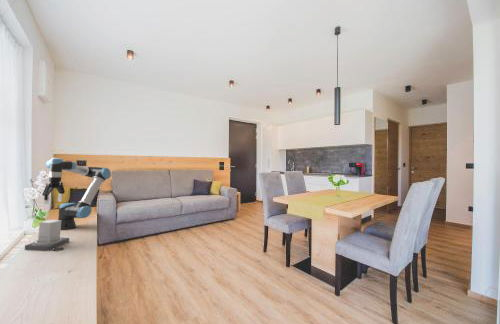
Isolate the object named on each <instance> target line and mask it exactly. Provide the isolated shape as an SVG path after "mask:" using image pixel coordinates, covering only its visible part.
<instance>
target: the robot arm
mask: <svg viewBox="0 0 500 324" xmlns="http://www.w3.org/2000/svg"><path fill="white" fill-rule="evenodd" d="M76 163H77V162H75V161H74V160H73V161H71V160H64V159H63V158H57V157H52V158H50V160H47V161H46V164H45V166H46V168H48V169H49V178H48V181H49V183H48V182H47V183H46V186H45V188H44V189H43V192H42V194H41V196H43V200H44V201H43V204H44V205H49V204H50V203H49V201H50V194H51V193H52V191H53V190H54V189H56V191H57V192H58V194H57V195H58V196H57V202H62V201H63V196H64V195H63V194H65V193H66V191H65V187H64V182H62V176H63V171H64V172H69V173H74V174H77V175H78V174H79V175H81V176H84V177H88V178H92V180H91V182H90V184H89V186H88V187H87V189H86V190H85V192H84V194H83V196H82V198H81V199H80V200H79V201H77V202H68V203H67V202H66V203H62V204H60V205H59V209H58V217H57V218H58V219H57V220H61V231H65V230H66V231H67V230H72V229H75V228H76V226H77V224H76V221H75V219H86V218H88V217H89V216H90V215H91V214H92V201H93V199H94V198H95V196H96V195H97V193H98V191H99V189H100V187H101V186H102V184H103V183H105V182H106V180H109V179H110V177H111V175H112V174H111V173H112V172H111V170H110V169H109V168H108V167H101V166H100V167H99V166H85V165H84V166H81V165H77V164H76Z"/></svg>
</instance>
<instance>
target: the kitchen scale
mask: <svg viewBox="0 0 500 324" xmlns="http://www.w3.org/2000/svg"><path fill="white" fill-rule="evenodd" d="M68 243H70V237H62V236H60V240H58V241H55V242H49V243H38V239H36V240H34V241H33V242H29V243H27V244H25V245H24V251H25V250H26V251H27V250H28V251H47V250H49V251H51V250H53V248H59V247H60V246H62V245H65V244H68Z"/></svg>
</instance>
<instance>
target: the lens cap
mask: <svg viewBox="0 0 500 324" xmlns="http://www.w3.org/2000/svg"><path fill="white" fill-rule="evenodd" d="M64 249H65V248H64V247H60V246H59V247H56V248H54V249H52V251H53V252H59V251H60V250H61V251H64Z"/></svg>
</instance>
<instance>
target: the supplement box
mask: <svg viewBox="0 0 500 324" xmlns="http://www.w3.org/2000/svg"><path fill="white" fill-rule="evenodd" d="M38 227H39V228H38V238H37V240H38V243H49V242H55V241H58V240H60V237H61V231H62V230H61V220H58V219H47V220H43V221H39V226H38Z"/></svg>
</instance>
